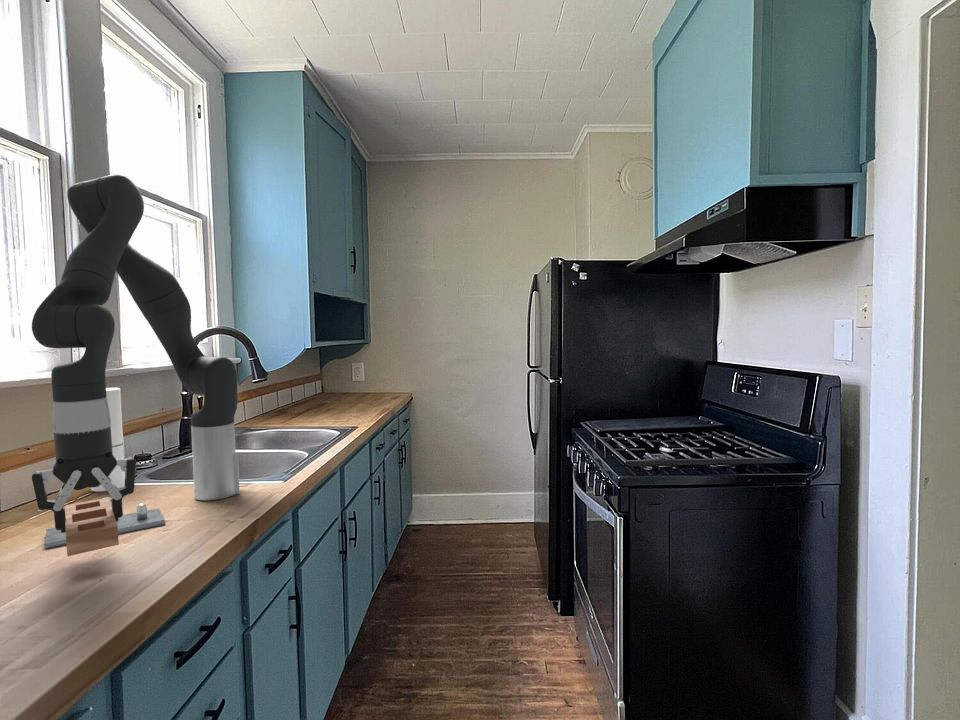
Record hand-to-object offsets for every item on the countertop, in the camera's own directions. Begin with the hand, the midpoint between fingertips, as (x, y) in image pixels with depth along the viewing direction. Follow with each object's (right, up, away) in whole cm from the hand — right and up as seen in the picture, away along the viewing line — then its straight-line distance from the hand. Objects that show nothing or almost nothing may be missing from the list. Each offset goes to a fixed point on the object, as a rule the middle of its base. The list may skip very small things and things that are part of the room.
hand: (90, 525), depth 89 cm
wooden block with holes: (0, -1, 0) cm, 1 cm away
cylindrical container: (-30, -5, +47) cm, 56 cm away
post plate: (-10, -6, +18) cm, 22 cm away
